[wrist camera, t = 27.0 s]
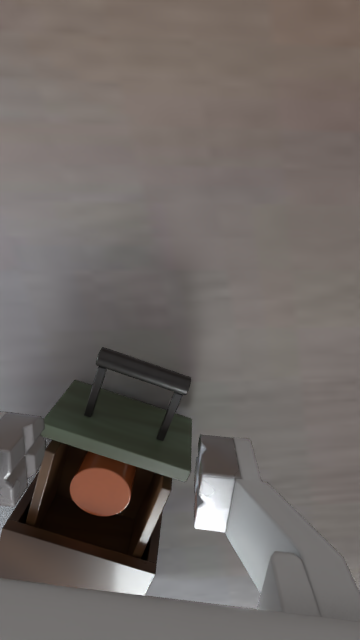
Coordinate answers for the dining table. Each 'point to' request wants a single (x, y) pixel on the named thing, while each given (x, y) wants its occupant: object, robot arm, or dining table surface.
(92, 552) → the cabinet
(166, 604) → the robot arm
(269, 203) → the dining table surface
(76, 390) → the drawer
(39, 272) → the dining table surface
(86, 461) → the orange cylinder puck
